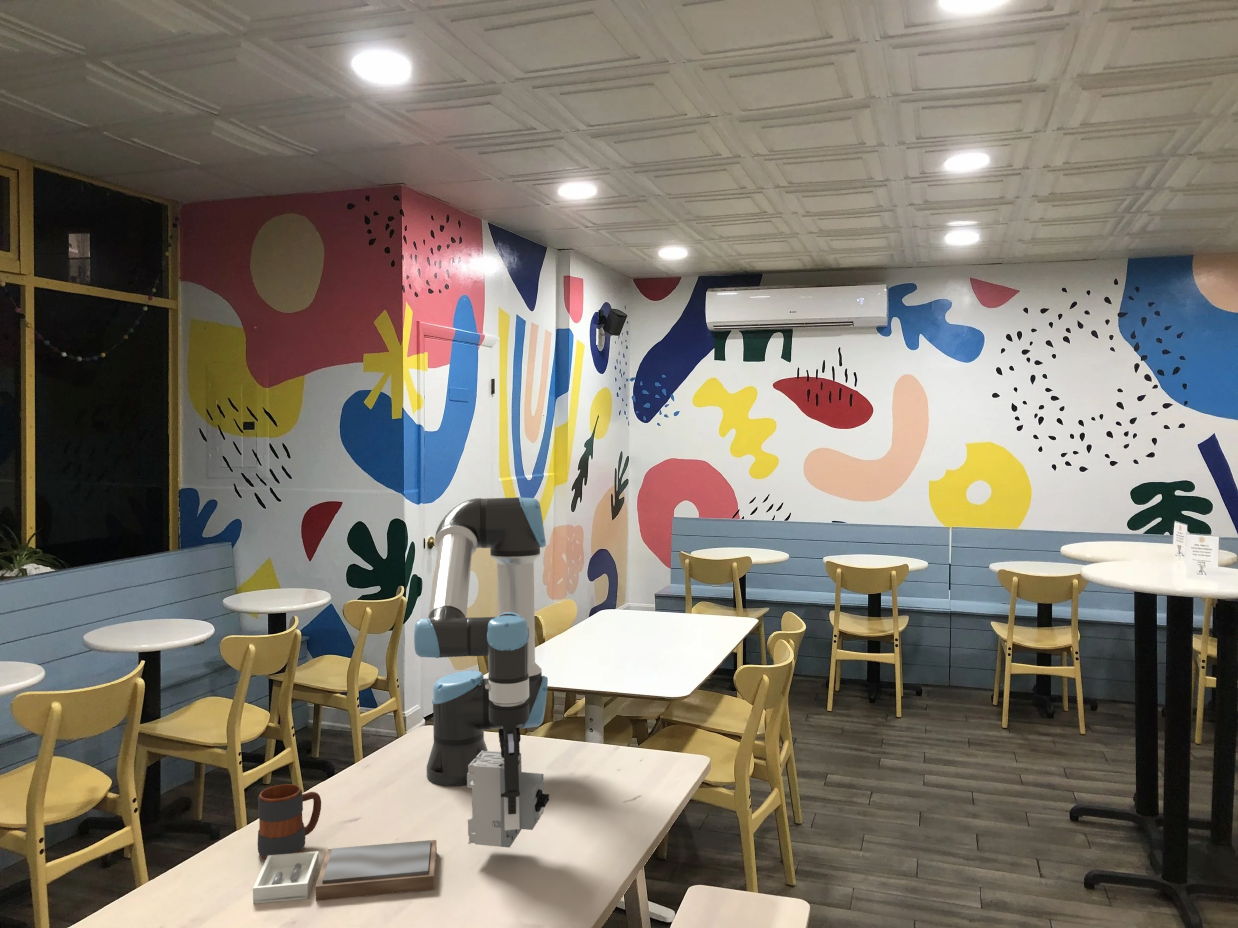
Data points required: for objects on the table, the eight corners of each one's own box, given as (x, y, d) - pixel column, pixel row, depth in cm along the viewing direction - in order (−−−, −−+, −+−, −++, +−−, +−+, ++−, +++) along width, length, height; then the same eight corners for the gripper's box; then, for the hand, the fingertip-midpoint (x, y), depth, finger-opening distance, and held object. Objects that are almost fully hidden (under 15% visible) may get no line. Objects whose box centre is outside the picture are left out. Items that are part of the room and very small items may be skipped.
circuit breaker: (541, 850, 165) (540, 770, 164) (468, 843, 168) (466, 765, 167) (552, 831, 173) (551, 755, 172) (482, 825, 175) (480, 749, 174)
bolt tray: (268, 869, 166) (268, 855, 166) (319, 865, 168) (318, 850, 168) (253, 903, 155) (252, 888, 155) (307, 898, 156) (307, 883, 156)
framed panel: (328, 861, 169) (327, 846, 169) (436, 852, 173) (436, 837, 172) (315, 900, 155) (315, 883, 155) (433, 889, 159) (433, 872, 159)
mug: (328, 848, 175) (327, 789, 174) (264, 866, 168) (262, 804, 167) (315, 832, 182) (314, 775, 181) (253, 848, 175) (251, 789, 174)
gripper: (487, 683, 179) (489, 793, 180) (490, 721, 157) (492, 846, 159) (525, 681, 180) (526, 790, 181) (533, 718, 158) (534, 842, 160)
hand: (510, 816), depth 170 cm, fingers closed on circuit breaker, 9 cm apart
